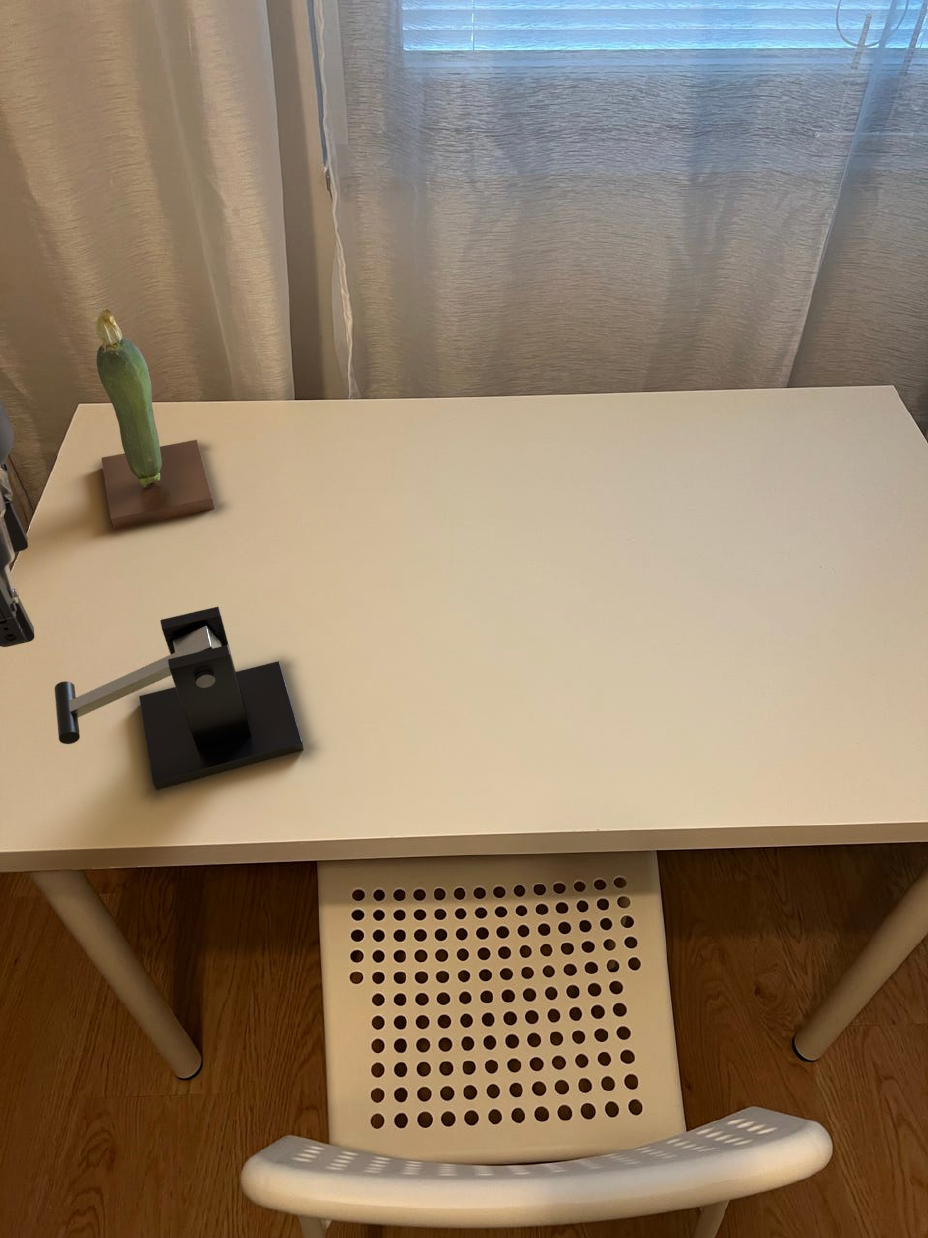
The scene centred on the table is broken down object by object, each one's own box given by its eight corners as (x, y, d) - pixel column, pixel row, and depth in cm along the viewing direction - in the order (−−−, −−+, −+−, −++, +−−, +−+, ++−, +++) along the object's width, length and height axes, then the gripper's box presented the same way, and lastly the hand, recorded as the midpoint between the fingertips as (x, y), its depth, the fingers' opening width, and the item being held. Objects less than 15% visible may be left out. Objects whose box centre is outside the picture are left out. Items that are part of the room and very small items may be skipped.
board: (114, 530, 94) (110, 519, 93) (104, 468, 100) (101, 457, 99) (215, 509, 96) (212, 498, 95) (199, 450, 102) (196, 439, 101)
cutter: (155, 791, 75) (118, 704, 66) (142, 703, 80) (105, 612, 71) (304, 750, 77) (287, 661, 68) (281, 669, 83) (262, 576, 74)
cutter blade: (69, 749, 71) (50, 735, 69) (65, 698, 74) (46, 683, 72) (229, 677, 71) (214, 660, 69) (217, 629, 74) (203, 611, 72)
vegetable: (131, 469, 98) (76, 292, 83) (173, 462, 99) (127, 286, 84) (134, 496, 95) (78, 319, 80) (178, 489, 96) (131, 312, 81)
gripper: (-10, 451, 46) (84, 659, 58) (-15, 301, 54) (67, 510, 67) (-180, 482, 44) (-47, 690, 56) (-158, 322, 53) (-47, 533, 65)
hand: (15, 592), depth 61 cm, fingers open, 8 cm apart
